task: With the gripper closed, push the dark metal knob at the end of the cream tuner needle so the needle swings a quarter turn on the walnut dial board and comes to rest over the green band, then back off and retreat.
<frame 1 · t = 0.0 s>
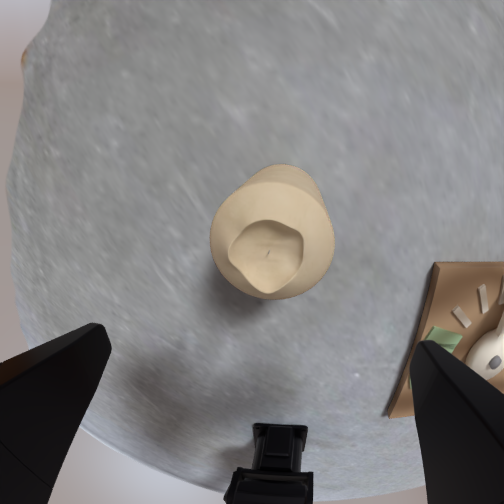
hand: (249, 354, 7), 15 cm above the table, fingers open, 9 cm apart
candle: (282, 201, 21), on the table
dial board: (483, 343, 22), on the table
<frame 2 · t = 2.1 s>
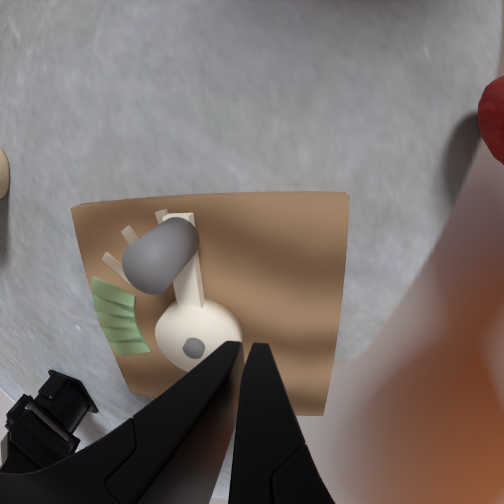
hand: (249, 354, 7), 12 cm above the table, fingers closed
needle: (182, 320, 17), point 4 cm above the table, hinge at 0.0°
dial board: (207, 321, 21), on the table
onion: (487, 123, 13), on the table
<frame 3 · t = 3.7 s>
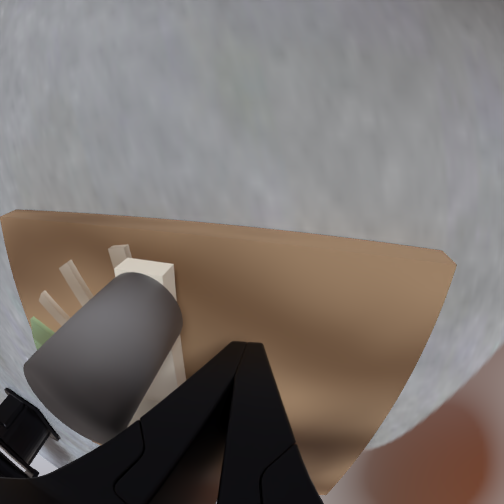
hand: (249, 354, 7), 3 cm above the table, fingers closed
needle: (151, 428, 9), point 4 cm above the table, hinge at 0.3°, touching gripper
dial board: (190, 398, 14), on the table
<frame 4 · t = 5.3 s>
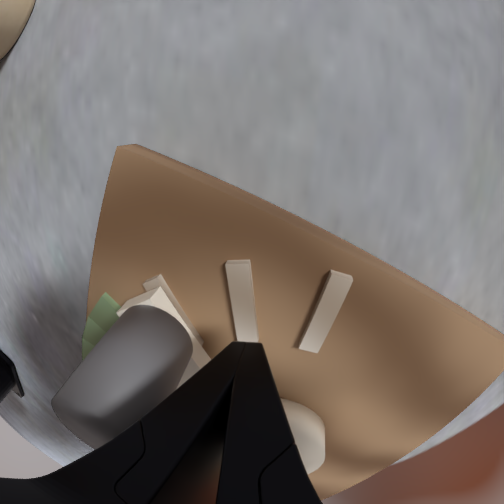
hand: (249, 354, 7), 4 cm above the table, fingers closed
needle: (218, 448, 9), point 4 cm above the table, hinge at 51.4°, touching gripper
candle: (10, 20, 7), on the table
dial board: (265, 410, 13), on the table
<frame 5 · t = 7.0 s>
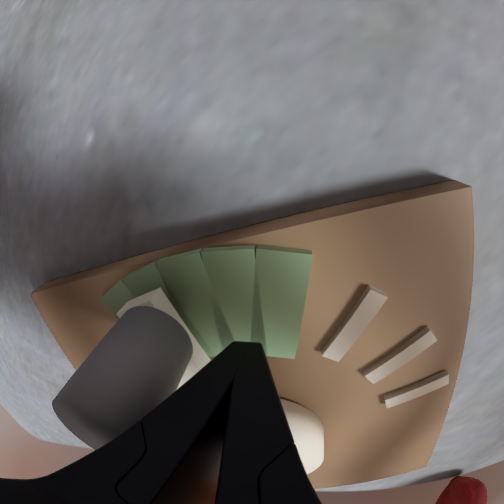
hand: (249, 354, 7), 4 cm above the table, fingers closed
needle: (218, 448, 9), point 4 cm above the table, hinge at 99.9°, touching gripper
dial board: (264, 411, 13), on the table
onion: (454, 475, 16), on the table
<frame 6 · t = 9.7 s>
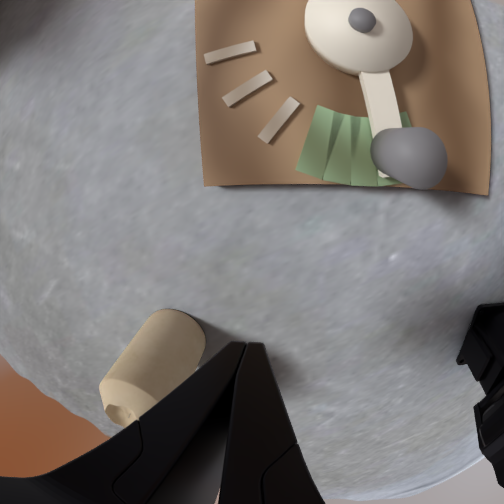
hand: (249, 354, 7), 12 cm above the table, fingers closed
needle: (381, 64, 11), point 4 cm above the table, hinge at 100.2°
candle: (177, 332, 24), on the table
dial board: (352, 38, 13), on the table
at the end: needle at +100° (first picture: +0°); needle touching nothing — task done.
